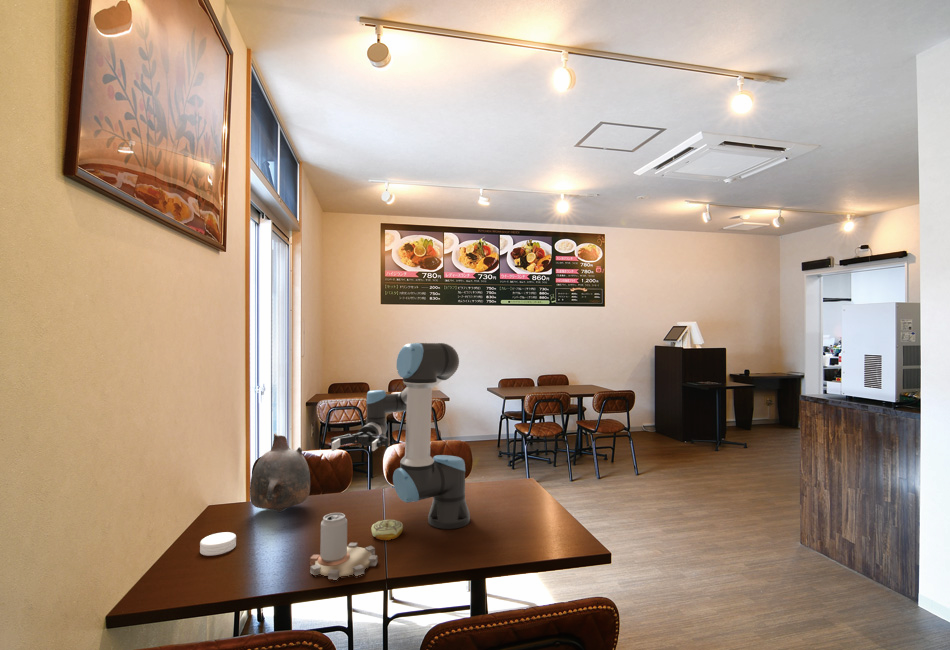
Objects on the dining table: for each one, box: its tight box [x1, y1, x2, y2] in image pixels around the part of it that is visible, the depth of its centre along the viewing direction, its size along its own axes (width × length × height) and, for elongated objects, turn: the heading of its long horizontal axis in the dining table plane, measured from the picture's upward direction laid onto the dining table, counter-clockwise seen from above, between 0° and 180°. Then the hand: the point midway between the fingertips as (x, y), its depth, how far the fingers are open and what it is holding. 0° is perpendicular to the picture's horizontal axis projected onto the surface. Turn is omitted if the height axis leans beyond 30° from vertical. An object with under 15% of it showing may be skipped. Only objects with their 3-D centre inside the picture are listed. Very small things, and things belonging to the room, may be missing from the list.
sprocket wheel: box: [309, 542, 378, 581], centre depth 133 cm, size 19×19×2 cm
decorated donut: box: [370, 519, 404, 541], centre depth 154 cm, size 10×11×4 cm
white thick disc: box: [199, 531, 237, 557], centre depth 144 cm, size 10×10×4 cm
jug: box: [249, 432, 311, 513], centre depth 176 cm, size 24×21×30 cm
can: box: [319, 512, 348, 562], centre depth 134 cm, size 8×8×12 cm
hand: (352, 446), depth 152 cm, fingers open, 13 cm apart
